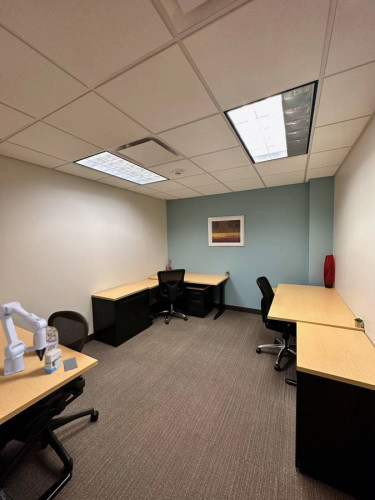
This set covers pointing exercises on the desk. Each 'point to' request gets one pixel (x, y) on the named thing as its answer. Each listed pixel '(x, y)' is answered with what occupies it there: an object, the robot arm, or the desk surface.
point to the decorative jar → (49, 338)
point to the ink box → (53, 360)
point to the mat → (70, 364)
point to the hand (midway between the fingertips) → (41, 360)
